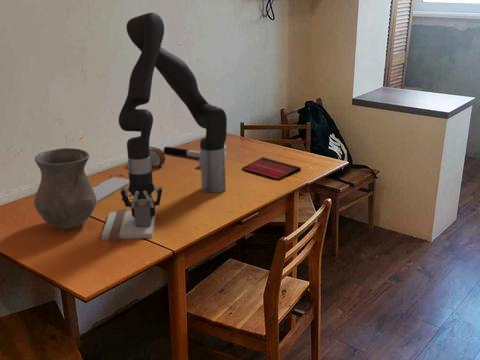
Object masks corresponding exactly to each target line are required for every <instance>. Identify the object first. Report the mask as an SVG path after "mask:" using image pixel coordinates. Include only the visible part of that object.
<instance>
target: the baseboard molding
mask: <svg viewBox="0 0 480 360" xmlns="http://www.w3.org/2000/svg"><path fill="white" fill-rule="evenodd" d="M116 176H117V175H114V176H113V177H112V176H111V175H110V176H109V179H107V180H105V181H103V182H102V183H101V182H100V184H98V185H96V186H94V187H92V189H93V191H94V193H95V195H96V199H97V200H96V204H98V203H100V202H102V201H103V200H105V199H107V198H109V197H111V194H112V195H113V194H115V193H117V192H119V191H121V189H122V188H123V187H124V188H125V187H127V186H129V185H130V184H129V176H128V177H126V178H124V177H123V174H119V175H118V177H116ZM128 184H129V185H128ZM118 190H119V191H118ZM116 191H117V192H116ZM106 197H107V198H106Z"/></svg>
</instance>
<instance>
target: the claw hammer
mask: <svg viewBox="0 0 480 360" xmlns="http://www.w3.org/2000/svg"><path fill="white" fill-rule="evenodd" d="M163 154H169V155H175V156H176V155H177V156H184V157H193V158H197V159H198V158H199V159H198V164H199V166H200V167H201V152H200V151H199V150H191V149H186V148H178V147H172V146H171V147H170V146H164V147H163ZM224 156H225V159H226V157H227V145H226V144H224Z"/></svg>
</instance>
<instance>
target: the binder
mask: <svg viewBox="0 0 480 360" xmlns="http://www.w3.org/2000/svg"><path fill="white" fill-rule="evenodd" d="M301 169H302V167H300V166H298V165H297V166H296V165H292V164H289V163H284V162H281V161H278V160H274V159H270V158H266V157H264V156H263V157H260V158H259V159H257V160H255V161H253V162H251V163H249V164H247V165H245V166H243V167H242V168H241V171H243V172H247V173H251V174H256V175H259V176H263V177H266V178H269V179H271V180H273V181H281V180H283V179H285V178H288V177H291V176H293V175H295V174H296V171H299V172H301V171H302V170H301Z"/></svg>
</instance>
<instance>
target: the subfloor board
mask: <svg viewBox="0 0 480 360" xmlns="http://www.w3.org/2000/svg"><path fill="white" fill-rule="evenodd" d="M156 216H157V210H156V209H155V216H153V218H152V222H151V226H135V218H134V217H133V216H132V211H131V210H129V211H127V209H126V208H125V209H120V208H119V209H117V211H109V213H108V216H107V219H106V222H105V225H104V227H103V230H102V232H101V240H103V241H104V240H108V243H118V242H120V241H119V240H121V239H122V240H126V239H150V238H151V239H152V238H153V234H154V228H155V223H156V222H155V221H156Z"/></svg>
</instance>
